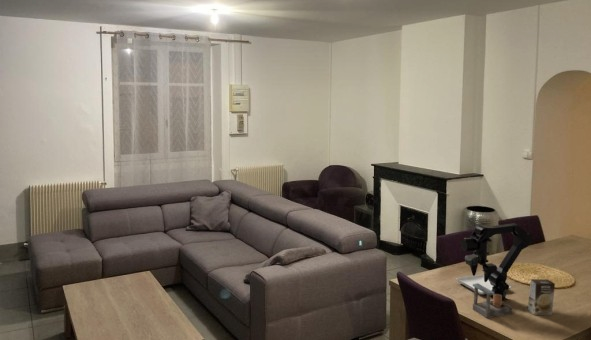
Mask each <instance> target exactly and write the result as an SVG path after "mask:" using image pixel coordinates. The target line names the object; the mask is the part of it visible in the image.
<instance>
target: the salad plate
mask: <svg viewBox="0 0 591 340" xmlns="http://www.w3.org/2000/svg"><path fill="white" fill-rule="evenodd" d="M455 280H456V281H457V282H459V283H460V284H461V285H463V286H465V287H466V288H468V289H469V290H471V291H473V292H474V289H475V287H474V286H473V284H477V283H478V284H480V285H482V286H484V287H485V288H487V289H489V290H491V291H492V287H493V285H491V284H490V282H489V280H487V282H484V273H481V274H475V276H473V275H468V276H461V277H456V278H455ZM511 288H512V287H511V285H509V289H508V290H511ZM478 294H479V295H487V294H486V293H484V292H482V291H481V290H479V289H478Z"/></svg>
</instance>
